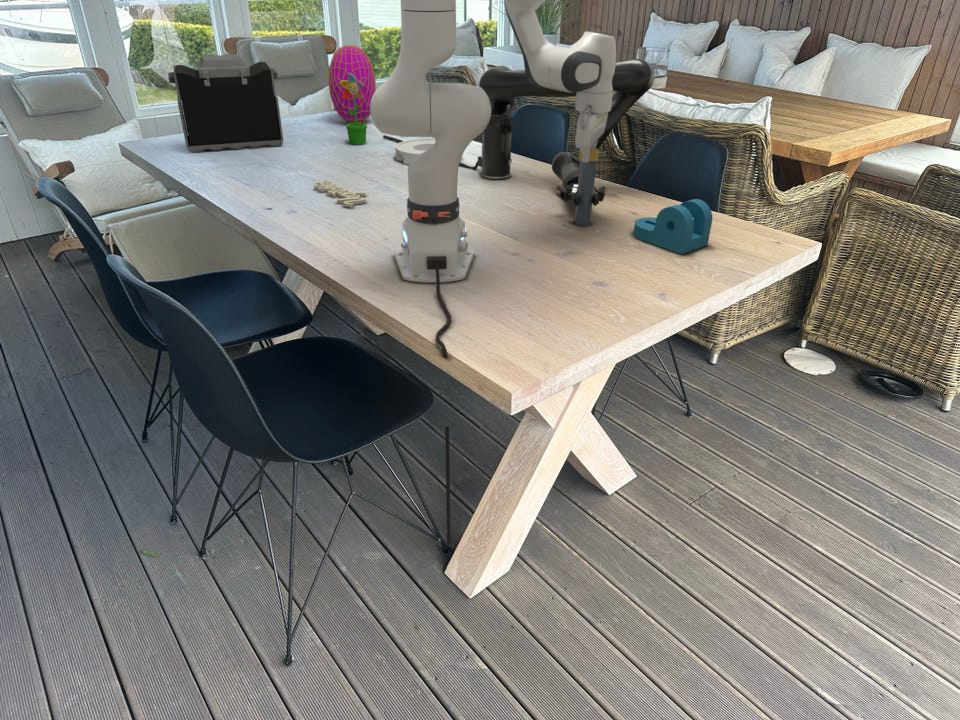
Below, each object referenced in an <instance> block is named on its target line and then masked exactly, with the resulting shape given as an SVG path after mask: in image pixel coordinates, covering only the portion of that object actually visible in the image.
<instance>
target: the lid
mask: <svg viewBox="0 0 960 720" xmlns="http://www.w3.org/2000/svg"><path fill="white" fill-rule="evenodd" d="M599 155H600V150H599V149H598V150H597V149H594V148H591V149H590V161H596V162H597V161H599ZM578 160H579V161H580V160H582V150H581V149H580V150H579V151H578Z"/></svg>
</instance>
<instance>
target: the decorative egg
mask: <svg viewBox="0 0 960 720" xmlns="http://www.w3.org/2000/svg"><path fill="white" fill-rule="evenodd" d="M348 73H350V74H352V75H354V76H355V78H356V83H357V82H358V81H361V82H362V84H363V89H361V90H360V91H361V92H362V93H363V98H362V100H359V99H358V98H357V97H356V95H355V103H356V106H359V109H358V110H356V116H357V123H364V122H365V121H366V120H368V118H369V117H371V113H370V103H371V99H372V96H373V94H374V93H375V91H376V90H377V83H376V82H377V81H376V75H375V71H374V68H373V63H372V62H371V60H370V57H369V56H368V54H367V53H366V51H365V50H363V48H361V47H359V46H357V45H353V44H352V45H351V44H348V45H343V46H340V47H338V48H337V49H336V51H334V53H333V56H332V57H331V61H330V63H329V69H328V90H329V96H330V99H331V103H332V105H333V108H334V110H335V111H336V113H337V114H338V116H339V118H341V119H342V120H343V121H344V122H346V123H348V124H349V123H355V115H351V114H349V112H348V111H349V110H354V100H353V95H352V96H351V97H350V98H348V99H341V97H342V94H343V93H344V91H345V90H347V89H346V88H343V87H342V86H341V85H340V84H339V83H340V82H341V81H342V80H346V81H349V78H348Z"/></svg>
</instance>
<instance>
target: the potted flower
mask: <svg viewBox="0 0 960 720" xmlns="http://www.w3.org/2000/svg"><path fill="white" fill-rule="evenodd" d="M348 78H349V81H346V80H342V81H341V82H340V83H339V84H340V85H341V86H342V87H343V88H346V89H347V90H345V91H344V93H343V94H342V97H341V99H348V98H350V97H351V96H352V95H353V100H354V110H349V111H348V112H349V114H351V115H355V123H349V122H348V123H347V124H346V125H345V128H346V131H347V136H348V141H349V144H352V145H363V144H366V143H367V129H368V124H367V123H366V122H365V123H364V122H361V123H357V116H356V110H358V109H359V106H356V103H355V95H356V97H357V98H358V99H359V100H362V98H363V93H362V92H361V91H360V90H361V89H363V84H362V82H361V81H358V82H357V83H356V78H355V76H354V75H352V74H350V73H348Z"/></svg>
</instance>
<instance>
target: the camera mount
mask: <svg viewBox="0 0 960 720" xmlns="http://www.w3.org/2000/svg"><path fill="white" fill-rule="evenodd" d="M712 223H713V213H712V209H711V208H710V206H709V205H708V203H706V201H704V200H702V199H698V198H693V199H689V200H686V201H682V202H681V203H680V204H673V205H670V206H667V207H664V208H662V209H661V210H660V211H659V212H658V214H657V215H656V217H651V216H650V217H648V216H647V217H641V218H637V219H636V220H635V221H634V225H633V226H634V227H633V234H632V235H633V236H634V237H635V238H637V239H639V240H640V241H644V242H646V243H650V244H651V245H654V246H658V247H660V248H662V249H666V250H668V251H672V252H674V253H677V254H679V255H684V254H687V253H690V252H693V251H695V250H697V249H700V248H702V247H706V246H708V245H709V239H710V234H711V229H712V225H713V224H712Z"/></svg>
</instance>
